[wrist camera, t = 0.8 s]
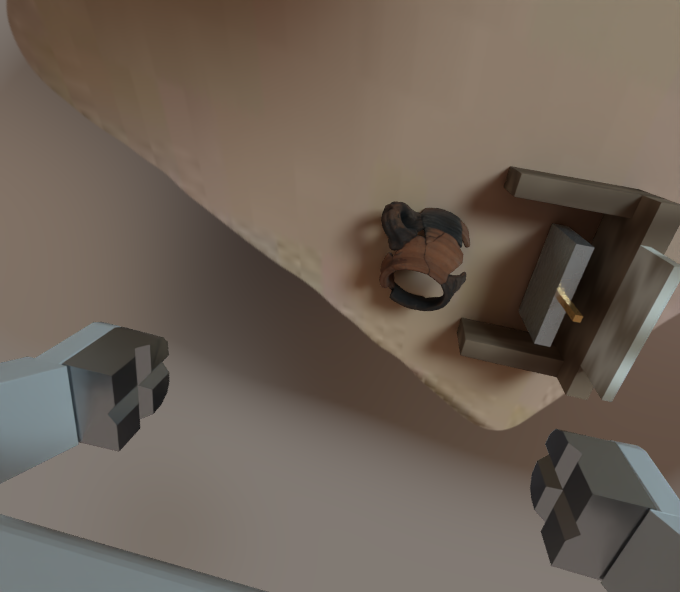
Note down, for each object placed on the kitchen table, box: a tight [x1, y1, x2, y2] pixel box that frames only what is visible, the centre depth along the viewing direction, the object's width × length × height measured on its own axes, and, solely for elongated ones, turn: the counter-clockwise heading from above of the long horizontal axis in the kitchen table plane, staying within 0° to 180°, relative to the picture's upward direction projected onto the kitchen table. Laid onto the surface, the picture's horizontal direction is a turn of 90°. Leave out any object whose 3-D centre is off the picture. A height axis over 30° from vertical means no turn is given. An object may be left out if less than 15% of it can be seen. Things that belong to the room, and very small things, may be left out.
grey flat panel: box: [519, 223, 595, 347], centre depth 38 cm, size 10×2×11 cm, turn 171°
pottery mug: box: [379, 202, 470, 311], centre depth 42 cm, size 12×10×8 cm
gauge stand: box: [457, 167, 680, 402], centre depth 38 cm, size 19×12×13 cm, turn 171°
